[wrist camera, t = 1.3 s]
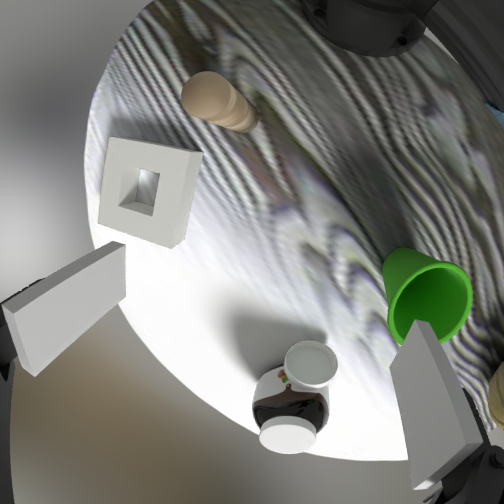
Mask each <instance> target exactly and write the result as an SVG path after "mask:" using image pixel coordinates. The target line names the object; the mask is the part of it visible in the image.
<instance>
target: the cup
mask: <svg viewBox="0 0 504 504" xmlns="http://www.w3.org/2000/svg"><path fill="white" fill-rule="evenodd" d="M382 275H383V279H384V285H385V290H386V295H387V301H388V307H389V308H388V318H387V322H388V327H389V331H390V333H391V334H392V336H393V338H394V339H395V340H396V341H397V342H398V343H399V344H400V345H402V344H403V342H404V340H405V338H406V336H407V334H408V332H409V330H410V328H411V326H412V324H413V322H414V320H415V319H416V320H420V321H425V322H429V324H430V325H431V327H432V329H433V331H434V333H435V335H436V337H437V338H438V340H439V342H440V344H442V343H444V342H446V341H447V340H449V339H450V338H451V337H452V336H454V335H455V334H456V332H457V331H458V330H459V329H460V328H461V327H462V325H463V324H464V322H465V320H466V319H467V317H468V314H469V311H470V309H471V304H472V298H473V297H472V285H471V282H470V279H469V277H468V275H467V274H466V273H465V271H464V270H463V269H462V268H461V267H459V266H458V265H456V264H454V263H451V262H447V261H439V260H437V259H434V258H432V257H430V256H427V255H425V254H423V253H420V252H418V251H416V250H413V249H411V248H408V247H401V248H397V249H395V250H393V251H392V252H391V253H390V254H389V255H388V256H387V257H386V259H385V261H384V263H383V267H382Z"/></svg>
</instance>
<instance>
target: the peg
mask: <svg viewBox="0 0 504 504" xmlns="http://www.w3.org/2000/svg"><path fill="white" fill-rule="evenodd" d="M181 101H182V105H183V107H184V109H185V110H186V111H187V112H188V113H189V114H190V115H192V116H195V117H197V118H200V119H203V120H206V121H209V122H212V123H214V124H217V125H220V126H223V127H225V128H228V129H231V130H233V131H236V132H239V133H246V132H249V131H251V130H253V129H254V128H255V127H256V125H257V123H258V120H259V114H258V111H257V109H256V108H255V107H254V106H253V105H252V104H251V103H250V102H249V101H248V100H247V99H246V98H245V97H244V96H243V95H242V94H241V93H240V92H239V91H238V90H237V89H235V88H234V87H233V86H232V85H231V84H230V83H229V82H228V81H227V80H226V79H225V78H224V77H223V76H221V75H220V74H218V73H216V72H212V71H204V72H200V73H197V74H195V75H194V76H192V77H191V78H190V79H189V80H188V81H187V82H186V83H185V85H184V87H183V89H182V93H181Z"/></svg>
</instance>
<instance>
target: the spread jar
mask: <svg viewBox="0 0 504 504" xmlns="http://www.w3.org/2000/svg"><path fill="white" fill-rule="evenodd" d="M337 368H338V362H337V358H336V355H335V354H334V352H333V351H332V350H331V349H330V348H329V347H328V346H327V345H325V344H323V343H321V342H318V341H314V340H305V341H301V342H298V343H296V344H294V345H293V346H292V347H291V348H290V349H289V350H288V352H287V354H286V357H285V361H284V364H281V365H278V366H276V367H274V368H272V369H271V370H269V371H268V372H266V373H265V374H264V375H263V376H262V377H261V378H260V380H259V381H258V384H257V387H256V390H255V394H254V398H253V403H252V411H253V417H254V420H255V422H256V424H257V426H258V427H259V429H260V435H259V439H260V442H261V443H262V445H263V446H265V447H266V448H267V449H269V450H272V451H274V452H278V453H283V454H294V453H300V452H304V451H306V450H308V449H310V448H311V447H312V446H313V445H314V444H315V441H316V434H317V433H318V432H320V431H321V430H322V429H323V428H324V426H325V425H326V424H327V421H328V417H329V389H328V383H329V382H330V381H331V380H332V378H333V377H334V375H335V373H336V371H337Z"/></svg>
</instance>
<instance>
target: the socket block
mask: <svg viewBox="0 0 504 504" xmlns="http://www.w3.org/2000/svg"><path fill="white" fill-rule="evenodd" d="M203 153H204V152H199V151H195V150H190V149H186V148H181V147H176V146H171V145H166V144H161V143H156V142H151V141H145V140H139V139H134V138H128V137H110V138H109V143H108V148H107V154H106V160H105V166H104V172H103V179H102V187H101V195H100V204H99V214H98V224H101V225H104V226H107V227H109V228H112V229H115V230H118V231H121V232H124V233H127V234H129V235H132V236H135V237H138V238H141V239H144V240H147V241H150V242H153V243H156V244H159V245H161V246H164V247H167V248H170V249H172V248H173V247H175V246H176V245H177V244H179V243H180V242H182V241H183V240H185V236H186V231H187V225H188V220H189V215H190V211H191V206H192V201H193V196H194V192H195V187H196V183H197V178H198V174H199V170H200V165H201V161H202V157H203ZM141 169H143V170H147V171H152V172H156V173H160V177H159V182H158V187H157V193H156V199H155V204H154V206H151V205H148V204H144V203H141V202H137V201H135V199H136V193H137V187H138V181H139V175H140V170H141Z"/></svg>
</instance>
